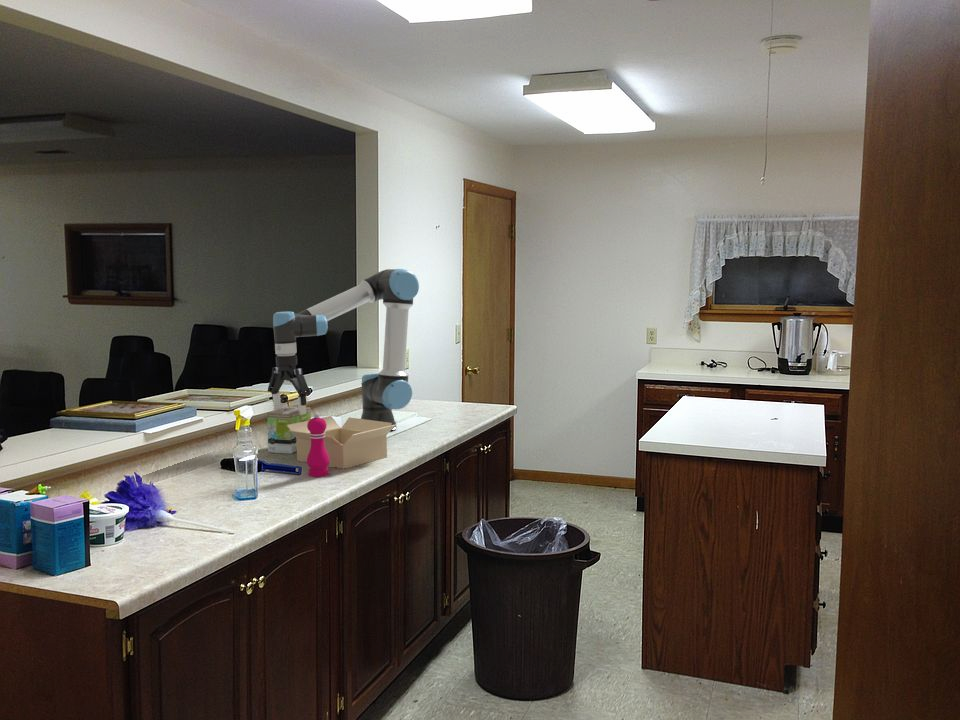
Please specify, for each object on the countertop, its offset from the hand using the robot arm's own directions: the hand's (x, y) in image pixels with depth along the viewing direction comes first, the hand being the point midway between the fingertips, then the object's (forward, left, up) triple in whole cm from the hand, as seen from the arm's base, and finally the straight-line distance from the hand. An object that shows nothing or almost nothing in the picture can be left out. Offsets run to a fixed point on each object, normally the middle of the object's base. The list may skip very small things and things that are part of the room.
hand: (289, 412), depth 305 cm
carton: (+1, +28, -13) cm, 31 cm away
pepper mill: (+21, +38, -14) cm, 46 cm away
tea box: (0, 0, -14) cm, 14 cm away
